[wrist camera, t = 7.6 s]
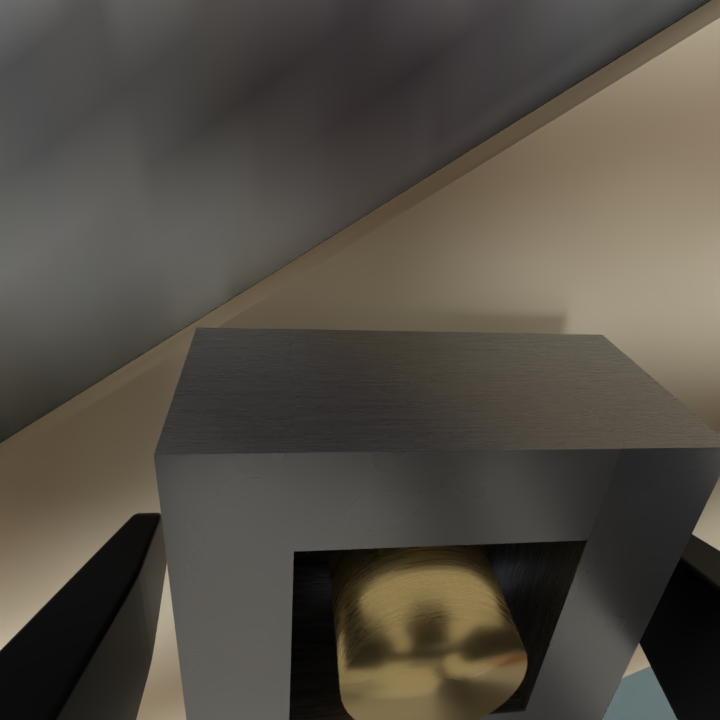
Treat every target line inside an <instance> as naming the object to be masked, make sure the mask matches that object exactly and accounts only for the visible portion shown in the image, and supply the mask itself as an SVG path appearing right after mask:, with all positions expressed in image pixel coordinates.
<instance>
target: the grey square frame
mask: <svg viewBox="0 0 720 720" xmlns="http://www.w3.org/2000/svg"><path fill="white" fill-rule="evenodd" d="M154 461H155V469H156V477H157V486H158V494H159V502H160V510H161V518H162V526H163V534H164V542H165V551H166V559H167V567H168V575H169V583H170V591H171V599H172V607H173V616H174V624H175V632H176V640H177V648H178V656H179V664H180V673H181V681H182V689H183V697H184V705H185V713H186V720H355V719H354V718H353V717H352V716H351V715H350V714H349V713H348V712H347V711H346V709H345V708H344V705H343V703H342V700H341V694H340V684H339V672H338V661H337V650H336V638H335V627H334V616H333V604H332V593H331V582H330V570H329V564H311V565H293V562H294V551H320V550H346V549H373V548H399V547H425V546H451V545H477V544H482V545H483V548H484V550H485V553H486V555H487V557H488V560H489V562H490V565H491V567H492V570H493V572H494V575H495V577H496V579H497V582H498V584H499V587H500V589H501V592H502V594H503V596H504V599H505V601H506V604H507V606H508V609H509V611H510V614H511V616H512V618H513V621H514V623H515V626H516V628H517V631H518V633H519V635H520V638H521V640H522V643H523V645H524V648H525V651H526V654H527V670H526V673H525V676H524V678H523V680H522V682H521V684H520V686H519V687H518V688H517V690H516V691H515V692H514V694H513V695H512V696H511V697H510V698H509V699H508V700H507V701H506V702H504V703H503V704H502V705H501V706H500V707H498V708H497V709H495V710H494V711H492V712H491V713H489V714H487V715H486V716H484V717H482V718H480V719H478V720H602V718H603V716H604V714H605V712H606V710H607V708H608V706H609V704H610V702H611V700H612V698H613V696H614V694H615V692H616V689H617V687H618V685H619V683H620V681H621V679H622V677H623V675H624V673H625V671H626V669H627V667H628V665H629V663H630V661H631V658H632V656H633V654H634V652H635V650H636V648H637V646H638V644H639V642H640V640H641V638H642V636H643V634H644V632H645V630H646V627H647V625H648V623H649V621H650V619H651V617H652V615H653V613H654V611H655V609H656V607H657V605H658V603H659V601H660V599H661V597H662V594H663V592H664V590H665V588H666V586H667V584H668V582H669V580H670V578H671V576H672V574H673V572H674V570H675V568H676V566H677V563H678V561H679V559H680V557H681V555H682V553H683V551H684V549H685V547H686V545H687V543H688V541H689V539H690V537H691V535H692V532H693V530H694V528H695V526H696V524H697V522H698V520H699V518H700V516H701V514H702V512H703V510H704V508H705V506H706V504H707V501H708V499H709V497H710V495H711V493H712V491H713V489H714V487H715V485H716V483H717V481H718V479H719V477H720V435H719V434H718V433H717V432H716V431H714V430H713V429H712V428H711V427H710V426H708V425H707V424H706V423H705V422H704V421H703V420H701V419H700V418H699V417H698V416H697V415H696V414H694V413H693V412H692V411H691V410H690V409H689V408H687V407H686V406H685V405H684V404H683V403H682V402H680V401H679V400H678V399H677V398H676V397H675V396H673V395H672V394H671V393H670V392H669V391H668V390H666V389H665V388H664V387H663V386H662V385H661V384H659V383H658V382H657V381H656V380H655V379H654V378H652V377H651V376H650V375H649V374H648V373H647V372H645V371H644V370H643V369H642V368H641V367H639V366H638V365H637V364H636V363H635V362H634V361H632V360H631V359H630V358H629V357H628V356H627V355H625V354H624V353H623V352H622V351H621V350H620V349H618V348H617V347H616V346H615V345H614V344H613V343H611V342H610V341H609V340H608V339H607V338H606V337H604V336H603V335H589V334H534V333H479V332H425V331H370V330H316V329H261V328H207V327H196V330H195V333H194V336H193V339H192V342H191V345H190V348H189V351H188V354H187V357H186V360H185V363H184V366H183V369H182V372H181V375H180V378H179V381H178V384H177V387H176V390H175V393H174V396H173V399H172V402H171V405H170V408H169V411H168V414H167V417H166V420H165V423H164V426H163V429H162V432H161V435H160V437H159V440H158V443H157V446H156V449H155V452H154Z"/></svg>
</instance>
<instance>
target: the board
mask: <svg viewBox="0 0 720 720" xmlns="http://www.w3.org/2000/svg"><path fill="white" fill-rule="evenodd" d="M196 327H207V328H261V329H316V330H370V331H425V332H479V333H534V334H589V335H603V336H604V337H606V338H607V339H608V340H609V341H610V342H611V343H613V344H614V345H615V346H616V347H617V348H618V349H620V350H621V351H622V352H623V353H624V354H625V355H627V356H628V357H629V358H630V359H631V360H632V361H634V362H635V363H636V364H637V365H638V366H639V367H641V368H642V369H643V370H644V371H645V372H647V373H648V374H649V375H650V376H651V377H652V378H654V379H655V380H656V381H657V382H658V383H659V384H661V385H662V386H663V387H664V388H665V389H666V390H668V391H669V392H670V393H671V394H672V395H673V396H675V397H676V398H677V399H678V400H679V401H680V402H682V403H683V404H684V405H685V406H686V407H687V408H689V409H690V410H691V411H692V412H693V413H694V414H696V415H697V416H698V417H699V418H700V419H701V420H703V421H704V422H705V423H706V424H707V425H708V426H710V427H711V428H712V429H713V430H714V431H716V432H717V433H718V434H719V435H720V0H711V1H709V2H708V3H706V4H705V5H703V6H701V7H700V8H698V9H697V10H695V11H693V12H692V13H690V14H689V15H687V16H685V17H684V18H682V19H681V20H679V21H677V22H676V23H674V24H673V25H671V26H669V27H668V28H666V29H664V30H663V31H661V32H660V33H658V34H656V35H655V36H653V37H652V38H650V39H648V40H647V41H645V42H644V43H642V44H640V45H639V46H637V47H636V48H634V49H632V50H631V51H629V52H628V53H626V54H624V55H623V56H621V57H620V58H618V59H616V60H615V61H613V62H612V63H610V64H608V65H607V66H605V67H603V68H602V69H600V70H599V71H597V72H595V73H594V74H592V75H591V76H589V77H587V78H586V79H584V80H583V81H581V82H579V83H578V84H576V85H575V86H573V87H571V88H570V89H568V90H567V91H565V92H563V93H562V94H560V95H559V96H557V97H555V98H554V99H552V100H550V101H549V102H547V103H546V104H544V105H542V106H541V107H539V108H538V109H536V110H534V111H533V112H531V113H530V114H528V115H526V116H525V117H523V118H522V119H520V120H518V121H517V122H515V123H514V124H512V125H510V126H509V127H507V128H506V129H504V130H502V131H501V132H499V133H498V134H496V135H494V136H493V137H491V138H489V139H488V140H486V141H485V142H483V143H481V144H480V145H478V146H477V147H475V148H473V149H472V150H470V151H469V152H467V153H465V154H464V155H462V156H461V157H459V158H457V159H456V160H454V161H453V162H451V163H449V164H448V165H446V166H445V167H443V168H441V169H440V170H438V171H436V172H435V173H433V174H432V175H430V176H428V177H427V178H425V179H424V180H422V181H420V182H419V183H417V184H416V185H414V186H412V187H411V188H409V189H408V190H406V191H404V192H403V193H401V194H400V195H398V196H396V197H395V198H393V199H392V200H390V201H388V202H387V203H385V204H384V205H382V206H380V207H379V208H377V209H375V210H374V211H372V212H371V213H369V214H367V215H366V216H364V217H363V218H361V219H359V220H358V221H356V222H355V223H353V224H351V225H350V226H348V227H347V228H345V229H343V230H342V231H340V232H339V233H337V234H335V235H334V236H332V237H331V238H329V239H327V240H326V241H324V242H322V243H321V244H319V245H318V246H316V247H314V248H313V249H311V250H310V251H308V252H306V253H305V254H303V255H302V256H300V257H298V258H297V259H295V260H294V261H292V262H290V263H289V264H287V265H286V266H284V267H282V268H281V269H279V270H278V271H276V272H274V273H273V274H271V275H270V276H268V277H266V278H265V279H263V280H261V281H260V282H258V283H257V284H255V285H253V286H252V287H250V288H249V289H247V290H245V291H244V292H242V293H241V294H239V295H237V296H236V297H234V298H233V299H231V300H229V301H228V302H226V303H225V304H223V305H221V306H220V307H218V308H217V309H215V310H213V311H212V312H210V313H208V314H207V315H205V316H204V317H202V318H200V319H199V320H197V321H196V322H194V323H192V324H191V325H189V326H188V327H186V328H184V329H183V330H181V331H180V332H178V333H176V334H175V335H173V336H172V337H170V338H168V339H167V340H165V341H164V342H162V343H160V344H159V345H157V346H156V347H154V348H152V349H151V350H149V351H147V352H146V353H144V354H143V355H141V356H139V357H138V358H136V359H135V360H133V361H131V362H130V363H128V364H127V365H125V366H123V367H122V368H120V369H119V370H117V371H115V372H114V373H112V374H111V375H109V376H107V377H106V378H104V379H103V380H101V381H99V382H98V383H96V384H94V385H93V386H91V387H90V388H88V389H86V390H85V391H83V392H82V393H80V394H78V395H77V396H75V397H74V398H72V399H70V400H69V401H67V402H66V403H64V404H62V405H61V406H59V407H58V408H56V409H54V410H53V411H51V412H50V413H48V414H46V415H45V416H43V417H42V418H40V419H38V420H37V421H35V422H33V423H32V424H30V425H29V426H27V427H25V428H24V429H22V430H21V431H19V432H17V433H16V434H14V435H13V436H11V437H9V438H8V439H6V440H5V441H3V442H1V443H0V650H1V649H2V648H3V647H4V646H5V645H6V644H7V643H8V642H9V641H10V640H11V639H12V638H13V637H14V636H15V635H16V634H17V633H18V632H19V631H20V630H21V629H22V628H23V627H24V626H25V625H26V624H27V623H28V622H29V621H30V620H31V619H32V618H33V616H34V615H35V614H36V613H37V612H38V611H39V610H40V609H41V608H42V607H43V606H44V605H45V604H46V603H47V602H48V601H49V600H50V599H51V598H52V597H53V596H54V595H55V594H56V593H57V592H58V591H59V590H60V589H61V588H62V587H63V586H64V585H65V584H66V583H67V582H68V581H69V580H70V579H71V578H72V577H73V576H74V575H75V574H76V573H77V572H78V571H79V570H80V569H81V568H82V567H83V566H84V564H85V563H86V562H87V561H88V560H89V559H90V558H91V557H92V556H93V555H94V554H95V553H96V552H97V551H98V550H99V549H100V548H101V547H102V546H103V545H104V544H105V543H106V542H107V541H108V540H109V539H110V538H111V537H112V536H113V535H114V534H115V533H116V532H117V531H118V530H119V529H120V528H121V527H122V526H123V525H124V524H125V523H126V522H127V521H128V520H129V519H130V518H131V517H132V516H133V515H135V514H137V513H160V514H161V510H160V502H159V494H158V486H157V477H156V469H155V461H154V452H155V449H156V446H157V443H158V440H159V437H160V435H161V432H162V429H163V426H164V423H165V420H166V417H167V414H168V411H169V408H170V405H171V402H172V399H173V396H174V393H175V390H176V387H177V384H178V381H179V378H180V375H181V372H182V369H183V366H184V363H185V360H186V357H187V354H188V351H189V348H190V345H191V342H192V339H193V336H194V333H195V330H196ZM692 534H693V535H695V536H696V537H698V538H699V539H701V540H703V541H704V542H706V543H708V544H709V545H711V546H713V547H714V548H716V549H717V550H719V551H720V477H719V479H718V481H717V483H716V485H715V487H714V489H713V491H712V493H711V495H710V497H709V499H708V501H707V504H706V506H705V508H704V510H703V512H702V514H701V516H700V518H699V520H698V522H697V524H696V526H695V528H694V530H693V532H692ZM649 666H650V664H649V662H648V660H647V658H646V656H645V654H644V652H643V650H642V648H641V646H640V644H638V646H637V648H636V650H635V652H634V654H633V656H632V658H631V661H630V663H629V665H628V667H627V669H626V671H625V673H624V675H623V677H622V678H624V677H627V676H629V675H631V674H633V673H636V672H638V671H640V670H642V669H645V668H647V667H649ZM136 720H186V713H185V705H184V697H183V689H182V681H181V673H180V664H179V656H178V648H177V640H176V632H175V624H174V616H173V607H172V599H171V591H170V583H169V575H168V567H167V565H166V572H165V579H164V585H163V592H162V599H161V605H160V612H159V619H158V625H157V632H156V639H155V645H154V650H153V656H152V661H151V666H150V670H149V674H148V678H147V682H146V685H145V689H144V693H143V696H142V700H141V704H140V708H139V711H138V715H137V719H136Z"/></svg>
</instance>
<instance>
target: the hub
mask: <svg viewBox="0 0 720 720" xmlns="http://www.w3.org/2000/svg"><path fill="white" fill-rule="evenodd" d="M311 564H329V570H330V582H331V593H332V604H333V616H334V627H335V638H336V650H337V661H338V672H339V684H340V694H341V700H342V703H343V705H344V708H345V709H346V711H347V712H348V713H349V714H350V715H351V716H352V717H353V718H354V719H355V720H478V719H480V718H482V717H484V716H486V715H487V714H489V713H491V712H492V711H494V710H495V709H497V708H498V707H500V706H501V705H502V704H503V703H504V702H506V701H507V700H508V699H509V698H510V697H511V696H512V695H513V694H514V692H515V691H516V690H517V688H518V687H519V686H520V684H521V682H522V680H523V678H524V676H525V673H526V670H527V654H526V651H525V648H524V645H523V643H522V640H521V638H520V635H519V633H518V631H517V628H516V626H515V623H514V621H513V618H512V616H511V614H510V611H509V609H508V606H507V604H506V601H505V599H504V596H503V594H502V592H501V589H500V587H499V584H498V582H497V579H496V577H495V575H494V572H493V570H492V567H491V565H490V562H489V560H488V557H487V555H486V553H485V550H484V548H483V545H482V544H477V545H451V546H425V547H399V548H373V549H346V550H320V551H294V562H293V565H311Z"/></svg>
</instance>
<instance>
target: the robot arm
mask: <svg viewBox="0 0 720 720" xmlns="http://www.w3.org/2000/svg"><path fill="white" fill-rule="evenodd" d="M166 565H167V559H166V551H165V542H164V534H163V526H162V518H161V514H160V513H137V514H135V515H133V516H132V517H131V518H130V519H129V520H128V521H127V522H126V523H125V524H124V525H123V526H122V527H121V528H120V529H119V530H118V531H117V532H116V533H115V534H114V535H113V536H112V537H111V538H110V539H109V540H108V541H107V542H106V543H105V544H104V545H103V546H102V547H101V548H100V549H99V550H98V551H97V552H96V553H95V554H94V555H93V556H92V557H91V558H90V559H89V560H88V561H87V562H86V563H85V564H84V566H83V567H82V568H81V569H80V570H79V571H78V572H77V573H76V574H75V575H74V576H73V577H72V578H71V579H70V580H69V581H68V582H67V583H66V584H65V585H64V586H63V587H62V588H61V589H60V590H59V591H58V592H57V593H56V594H55V595H54V596H53V597H52V598H51V599H50V600H49V601H48V602H47V603H46V604H45V605H44V606H43V607H42V608H41V609H40V610H39V611H38V612H37V613H36V614H35V615H34V616H33V618H32V619H31V620H30V621H29V622H28V623H27V624H26V625H25V626H24V627H23V628H22V629H21V630H20V631H19V632H18V633H17V634H16V635H15V636H14V637H13V638H12V639H11V640H10V641H9V642H8V643H7V644H6V645H5V646H4V647H3V648H2V649H1V650H0V720H136V719H137V715H138V711H139V708H140V704H141V700H142V696H143V693H144V689H145V685H146V682H147V678H148V674H149V670H150V666H151V661H152V656H153V650H154V645H155V639H156V632H157V625H158V619H159V612H160V605H161V599H162V592H163V585H164V579H165V572H166ZM639 644H640V646H641V648H642V650H643V652H644V654H645V656H646V658H647V660H648V662H649V664H650V666H651V668H652V670H653V672H654V674H655V676H656V678H657V680H658V682H659V684H660V686H661V688H662V690H663V692H664V694H665V696H666V698H667V700H668V702H669V704H670V706H671V708H672V710H673V712H674V714H675V716H676V718H677V720H720V551H719V550H717V549H716V548H714V547H713V546H711V545H709V544H708V543H706V542H704V541H703V540H701V539H699V538H698V537H696V536H695V535H693V534H692V535H691V537H690V539H689V541H688V543H687V545H686V547H685V549H684V551H683V553H682V555H681V557H680V559H679V561H678V563H677V566H676V568H675V570H674V572H673V574H672V576H671V578H670V580H669V582H668V584H667V586H666V588H665V590H664V592H663V594H662V597H661V599H660V601H659V603H658V605H657V607H656V609H655V611H654V613H653V615H652V617H651V619H650V621H649V623H648V625H647V627H646V630H645V632H644V634H643V636H642V638H641V640H640V642H639Z"/></svg>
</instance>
